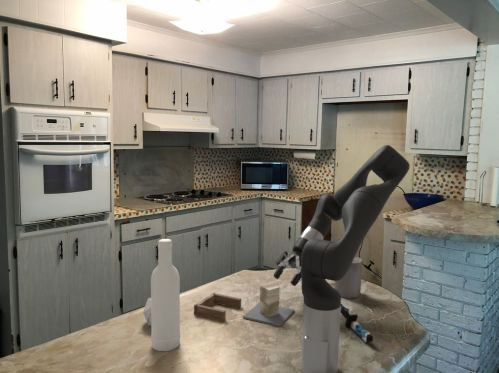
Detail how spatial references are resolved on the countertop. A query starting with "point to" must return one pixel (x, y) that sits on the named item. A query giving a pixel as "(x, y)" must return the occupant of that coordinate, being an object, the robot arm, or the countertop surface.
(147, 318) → the die
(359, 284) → the pillar candle
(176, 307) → the bottle
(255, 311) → the pad
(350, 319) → the knife
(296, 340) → the countertop surface
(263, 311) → the ash block
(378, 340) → the countertop surface
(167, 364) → the countertop surface
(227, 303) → the stall
